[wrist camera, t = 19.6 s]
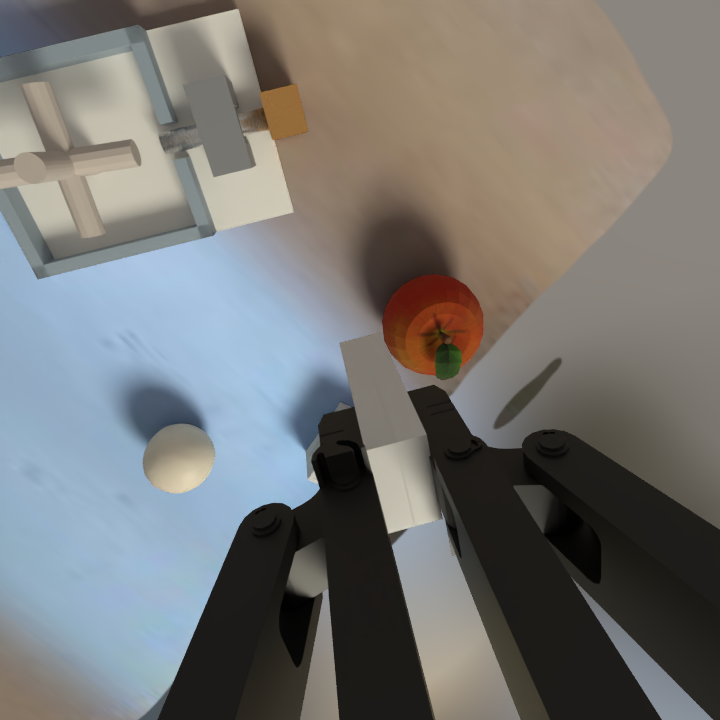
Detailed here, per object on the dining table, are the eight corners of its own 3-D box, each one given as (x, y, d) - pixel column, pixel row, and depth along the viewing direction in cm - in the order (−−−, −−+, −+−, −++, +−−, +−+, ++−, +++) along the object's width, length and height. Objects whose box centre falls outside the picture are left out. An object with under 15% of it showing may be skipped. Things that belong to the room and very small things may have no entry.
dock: (55, 269, 42) (23, 287, 37) (-44, 80, 36) (-99, 70, 31) (293, 210, 43) (293, 219, 38) (239, 12, 36) (231, -9, 31)
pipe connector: (1, 102, 36) (-100, 88, 27) (133, 81, 36) (79, 61, 27) (56, 235, 40) (-14, 262, 31) (174, 215, 40) (139, 236, 31)
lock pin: (176, 164, 39) (163, 167, 35) (161, 122, 38) (145, 120, 34) (306, 132, 39) (308, 131, 36) (296, 89, 38) (296, 83, 34)
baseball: (140, 451, 51) (119, 493, 45) (171, 401, 49) (154, 438, 43) (197, 476, 53) (185, 519, 47) (229, 429, 51) (221, 468, 45)
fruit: (472, 264, 47) (514, 292, 38) (460, 351, 51) (496, 396, 42) (378, 263, 46) (399, 293, 37) (373, 353, 50) (391, 399, 41)
